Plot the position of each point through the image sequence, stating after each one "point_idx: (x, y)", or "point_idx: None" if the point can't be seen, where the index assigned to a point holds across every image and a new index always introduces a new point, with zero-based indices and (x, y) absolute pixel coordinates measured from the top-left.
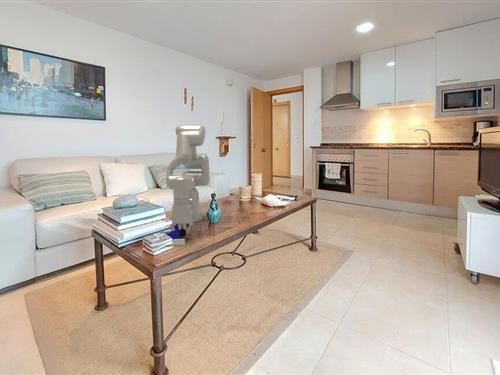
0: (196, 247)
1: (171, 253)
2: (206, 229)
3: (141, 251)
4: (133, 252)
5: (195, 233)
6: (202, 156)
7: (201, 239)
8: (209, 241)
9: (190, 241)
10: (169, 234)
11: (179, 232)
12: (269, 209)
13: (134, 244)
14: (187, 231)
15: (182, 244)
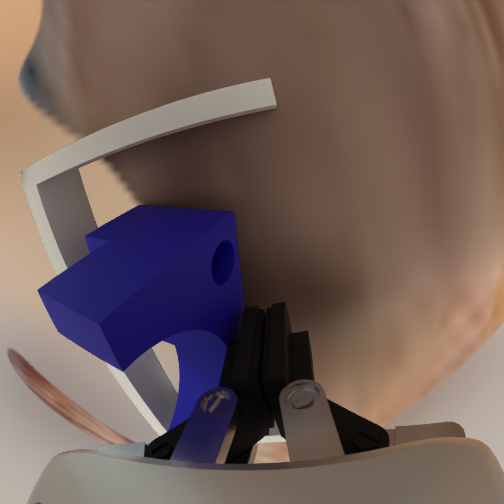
0: (405, 408)
1: (269, 460)
2: None
3: (107, 430)
4: (86, 428)
5: (366, 80)
6: None
7: (454, 281)
8: (498, 314)
9: (358, 335)
10: None
11: (206, 332)
12: None
13: (13, 355)
14: (258, 109)
15: None
